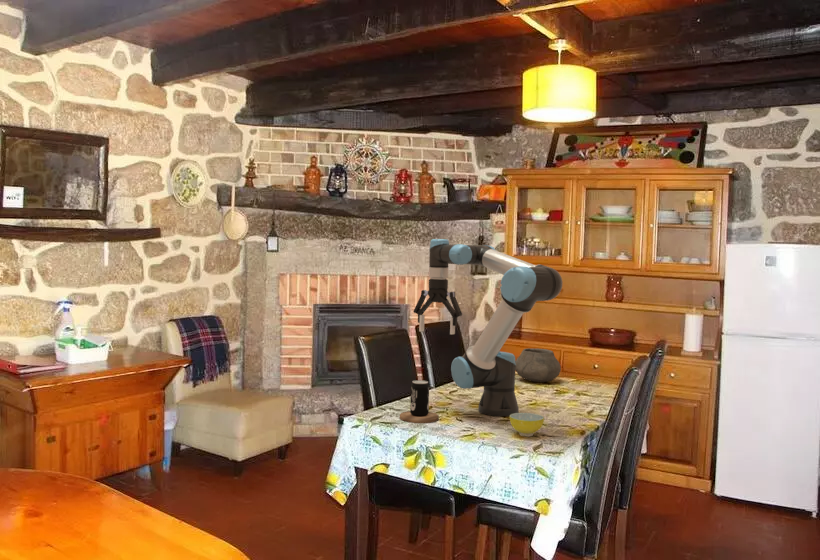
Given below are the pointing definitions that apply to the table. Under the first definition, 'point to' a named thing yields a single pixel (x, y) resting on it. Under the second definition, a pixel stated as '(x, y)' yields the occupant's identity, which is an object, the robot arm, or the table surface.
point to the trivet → (414, 419)
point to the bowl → (526, 423)
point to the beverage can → (419, 398)
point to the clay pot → (537, 365)
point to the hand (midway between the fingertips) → (436, 332)
